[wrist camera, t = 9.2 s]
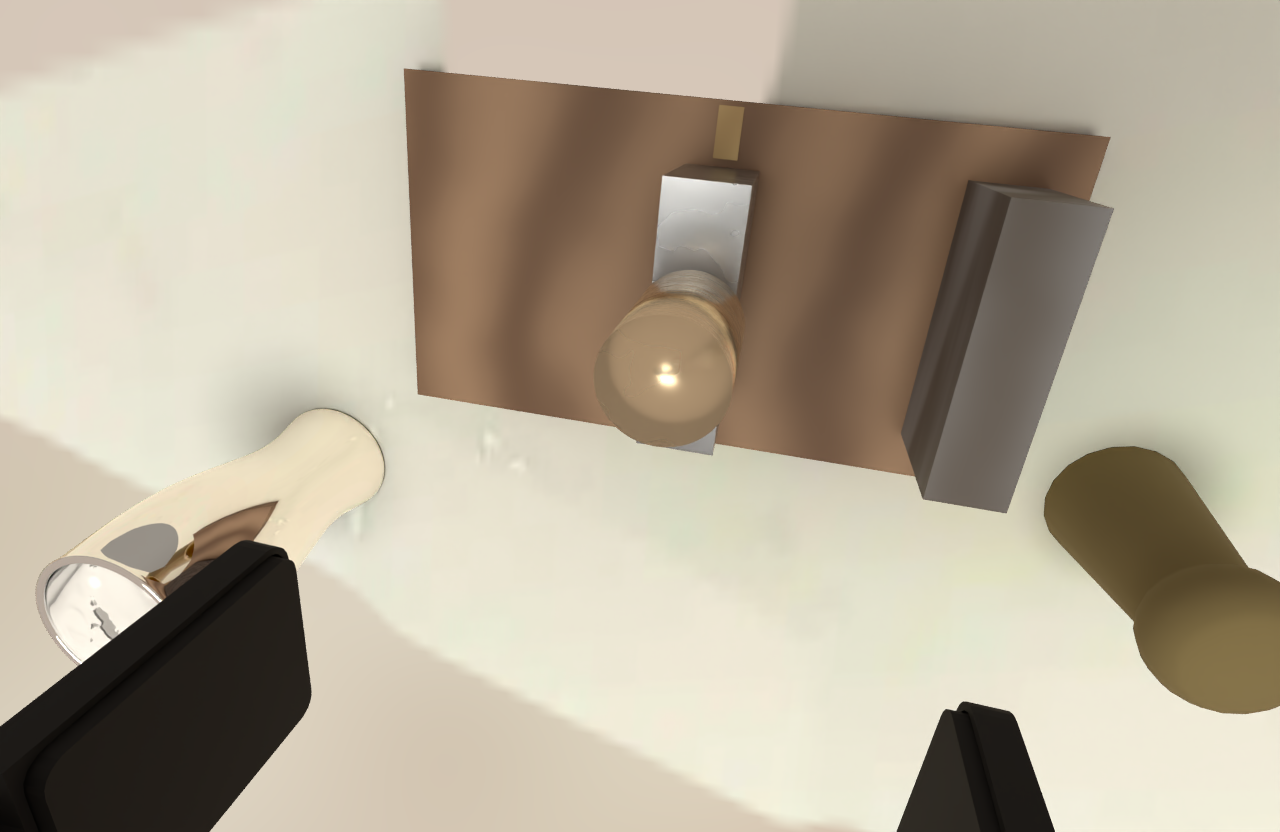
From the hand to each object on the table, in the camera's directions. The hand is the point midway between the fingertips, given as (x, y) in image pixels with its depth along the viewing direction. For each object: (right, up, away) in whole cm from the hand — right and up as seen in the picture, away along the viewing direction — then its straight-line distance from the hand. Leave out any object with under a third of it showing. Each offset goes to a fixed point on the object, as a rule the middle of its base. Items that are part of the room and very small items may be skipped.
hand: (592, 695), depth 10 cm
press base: (+4, +10, +22) cm, 25 cm away
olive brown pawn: (+23, 0, +23) cm, 33 cm away
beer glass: (-17, +2, +31) cm, 35 cm away
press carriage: (+4, +10, +21) cm, 23 cm away
